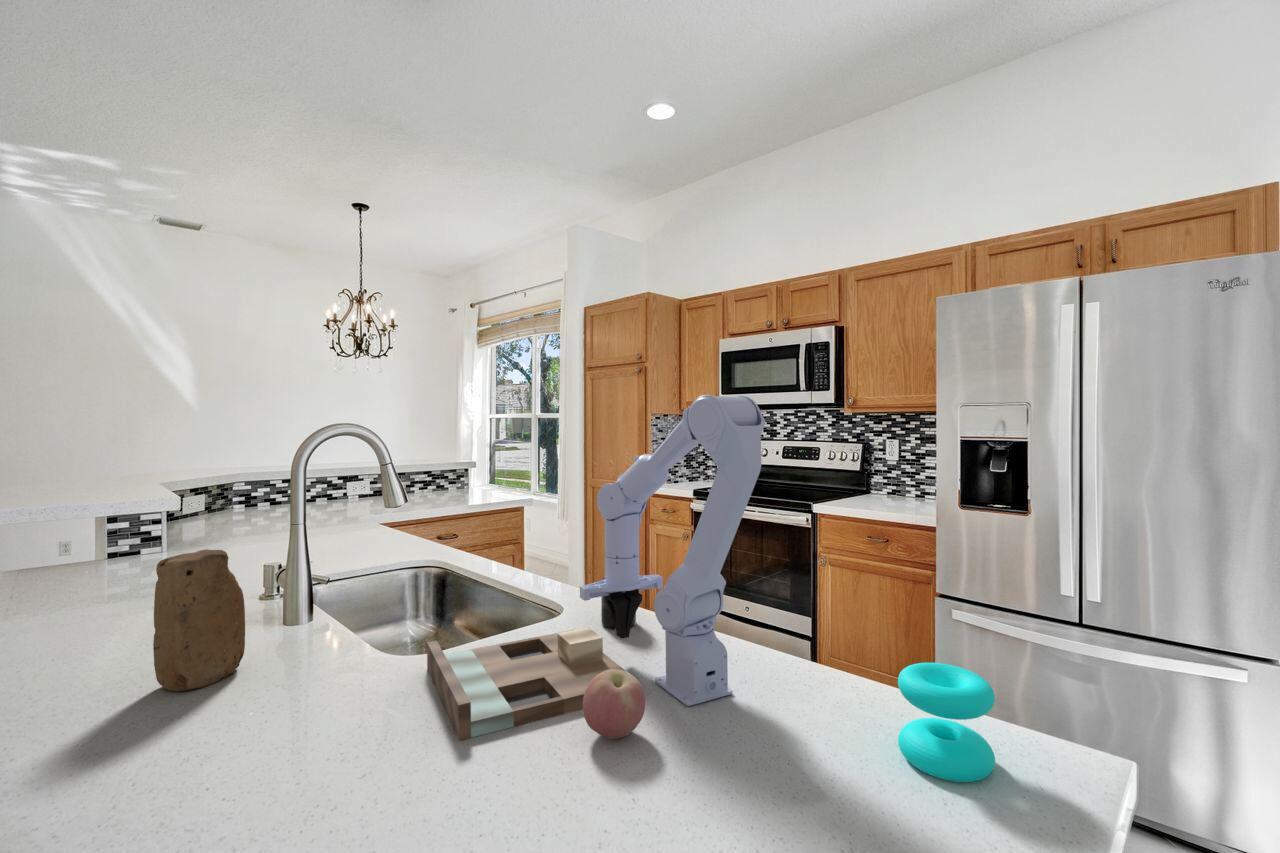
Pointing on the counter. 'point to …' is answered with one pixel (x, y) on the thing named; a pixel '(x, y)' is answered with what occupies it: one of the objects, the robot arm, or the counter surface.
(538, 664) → the board
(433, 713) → the counter surface
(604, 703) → the apple
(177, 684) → the block
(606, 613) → the supplement bottle
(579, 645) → the beech block
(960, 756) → the donuts
